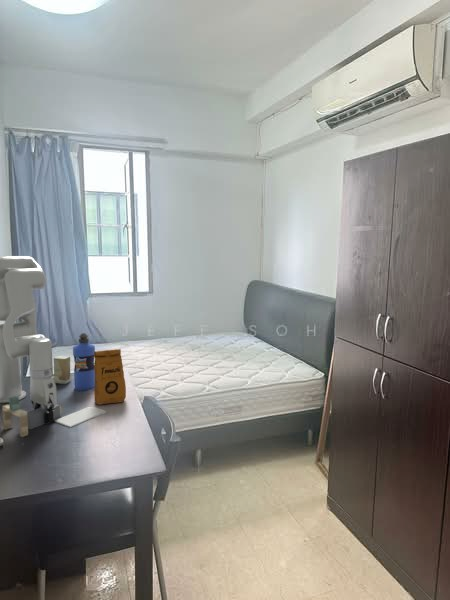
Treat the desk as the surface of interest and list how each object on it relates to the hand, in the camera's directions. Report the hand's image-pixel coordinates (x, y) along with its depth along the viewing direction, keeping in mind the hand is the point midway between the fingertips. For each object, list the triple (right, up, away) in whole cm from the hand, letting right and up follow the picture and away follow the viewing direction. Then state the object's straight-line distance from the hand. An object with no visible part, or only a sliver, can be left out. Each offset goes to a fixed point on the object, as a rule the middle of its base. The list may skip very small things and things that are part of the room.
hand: (43, 419), depth 148 cm
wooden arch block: (-6, -2, -9) cm, 11 cm away
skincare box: (-10, +5, +43) cm, 45 cm away
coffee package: (+19, +2, +20) cm, 27 cm away
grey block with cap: (0, -1, 0) cm, 1 cm away
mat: (+12, 0, +4) cm, 13 cm away
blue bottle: (+3, +4, +36) cm, 36 cm away
